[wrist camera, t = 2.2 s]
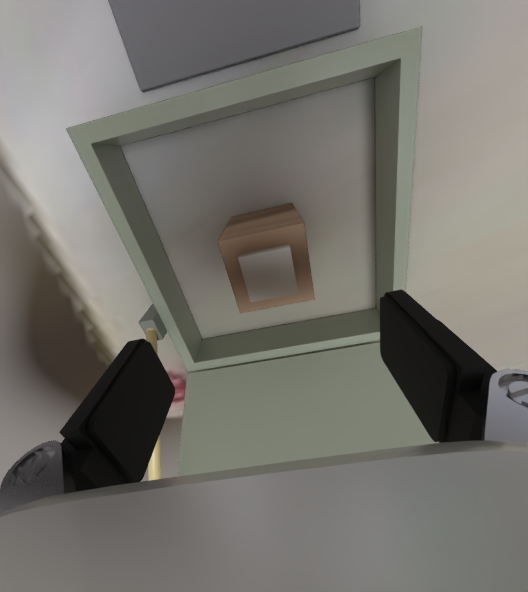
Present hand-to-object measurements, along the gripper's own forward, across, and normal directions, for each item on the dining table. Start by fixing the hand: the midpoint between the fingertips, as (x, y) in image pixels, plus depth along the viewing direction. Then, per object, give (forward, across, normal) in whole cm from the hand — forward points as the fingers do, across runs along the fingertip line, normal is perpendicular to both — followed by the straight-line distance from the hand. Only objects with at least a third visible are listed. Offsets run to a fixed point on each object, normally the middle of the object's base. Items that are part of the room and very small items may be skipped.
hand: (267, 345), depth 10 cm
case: (+13, 0, -1) cm, 13 cm away
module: (+13, 0, -1) cm, 13 cm away
